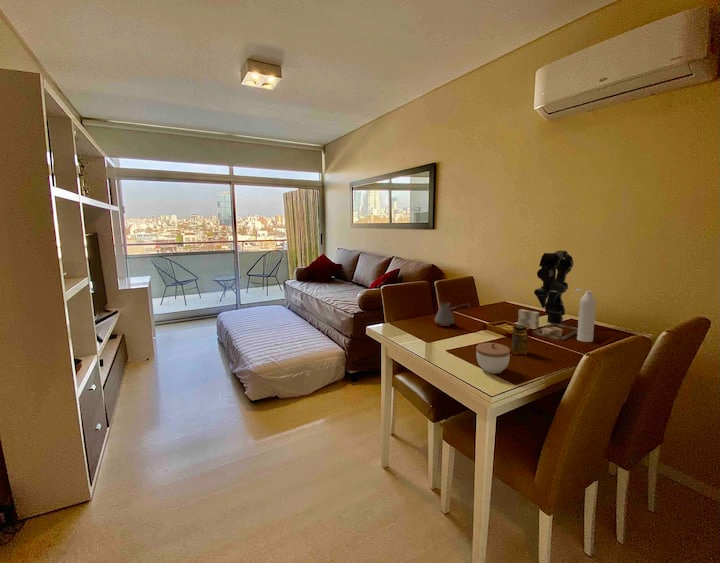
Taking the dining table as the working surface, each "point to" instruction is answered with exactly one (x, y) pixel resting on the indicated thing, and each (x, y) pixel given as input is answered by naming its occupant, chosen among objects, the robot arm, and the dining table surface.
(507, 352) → the lidded bowl
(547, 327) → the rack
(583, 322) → the water bottle
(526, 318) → the pale grey rectangular block
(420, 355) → the dining table surface
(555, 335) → the offcut
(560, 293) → the robot arm
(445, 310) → the coffee pot
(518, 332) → the condiment
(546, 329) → the offcut
